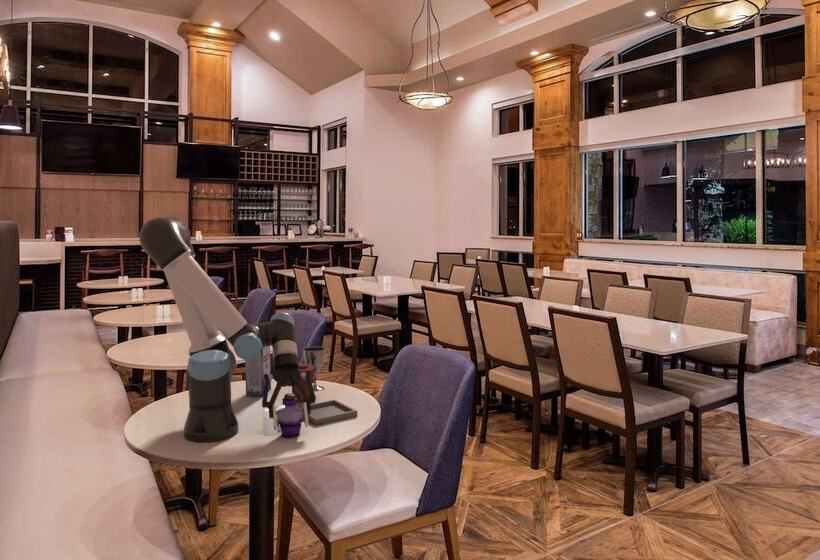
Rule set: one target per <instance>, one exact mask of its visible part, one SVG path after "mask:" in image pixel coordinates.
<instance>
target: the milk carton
mask: <svg viewBox="0 0 820 560" xmlns="http://www.w3.org/2000/svg"><path fill="white" fill-rule="evenodd" d="M244 366H245V367H244V372H245V375H244V376H245V396H246V398H247V396H250V397H249V398H252V397H253V398H263V393H264V386H265V383H264V375H265V374H268V375H271V374H272V372H271V368H272V367H271V366H272V365H271V346H265V347H262V348H261V351H260V352H259V354H258V355H257V356H256V357H255V358H253V359H250V360H244ZM269 390H270V391H271V390H272V381H271V382H270V383H269ZM269 390H268V393H269V392H270V391H269Z"/></svg>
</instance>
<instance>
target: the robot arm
mask: <svg viewBox="0 0 820 560" xmlns="http://www.w3.org/2000/svg"><path fill="white" fill-rule="evenodd" d="M138 236H139V237H138V238H139V244H140V246H141V248H142V249H143V250H144V252H145V253H146V254H147V255H148V256H149V258H150V259H151V260H152V261H154V264H155V266H156V268H158V269H160V270H162V271H163V273H164V276H165V278H166V280H167V283H168V285H169V288H170V290H171V291H170V292H171V293H172V296H173V299H174V301H175V305H176V307H177V310H178V312H179V316H180V318H181V320H182V323H183V327H184V329H185V331H186V334H187V336H188V339H189V342H190V346H189V349H188V350H187V351H188V354H189V358H188V360H187V366H186V367H187V368H186V369H187V378H188V381H187V382H188V383H187V384H188V400H189V401H188V402H189V405H188V406H189V410H188V413H187V417H186V419H185V420H186V421H185V422H184V427H183V437H184V438H185V439H186V440H188V441H189V442H197V443H207V442H208V443H210V442H217V441H222V440H225V439H229V438H230V437H233V436H235V435H236V434H237V433H238V432H239V421H238V419H237V415H236V413H235V411H234V408H233V406H232V383H231V382H232V379H233V375H234V374H235V371H236V367H237V359H236V356H237V357H238V359H242V360H243V361H245V360H250V359H253V358H255V357H256V356H257V355H258V354H259V352H260V351H261V348H262V347H265V346H270V347H271V349H272V359H273V361H272V366H273V373H271V375H268V374H265V375H264V383H265V386H264V393H263V397H262V401H261V407H262V408H267V409H268V417H269V419H272V420H273V430H274V431H277V429H278V427H277V421H278V419H277V415H276V411H277V408H276V407H277V405H276V401H277V398H278V396H279V393H280V391H281V390H282V388H286V387H292V386H293V387H294V388H295V389H296V391H297V392H298V394H299V395H300V397H301V399H302V400H303V402H302V403H303V405H302V406H303V409H304V412H305V413H304V418H303V422H304V428H308V427H309V421H308V415H310V414H311V407H310V404H315V403H316V401H317V399H316V398H317V397H316V394H315V391H314V390H313V387H312V386H313V383H312V384H311V381H310V372H309V371H307V372H306V373H305V372H301V371H300V370H299V364H300V363H299V357H298V355H299V354H298V347H297V334H296V327H295V326H296V325H295V319H294V317H293V316H292V315H291V314H289V313H287V312H279V313H277V314H273V315H272V316H271V317H270V320H269V321H267V322H261V323H251V324H249V322H247V320H246V319H245V318H244V317H243V315H242V314H241V313H240V312H239V311H238V310H237V309H236V307H235V306H234V305H233V303H232V302H231V301H230V300H229V299H228V298H227V296H226V295H225V294H224V293H223V292H222V290H220V288H219V286H217V285H216V284H215V282H214V281H213V280H212V279H211V278H210V276H209V275H208V274H207V273H206V271H205V269H203V268H202V267H201V265H200V264H199V263H198V262H197V261H196V260H195V258H196V253H195V250H194V247H193V245H192V242H191V240H192V237H191V231H190V229H189V228H188V227H187V225H186V224H185V223H184V222H183V221H181V220H180V219H177V218H175V217H171V216H170V217H169V216H167V217H159V216H158V217H154V218H151V219H150V220H149V219H148V220H147V221H146V222H145V223H144V224H143V225H142V227H141V228H140V231H139V235H138ZM219 332H220V333H221V334H222V335H221V334H219ZM229 344H230V345H231V346H232V348H233V351H234V352H233V351H232V350H231V348H230V347H229ZM235 355H236V356H235ZM300 377H302V378H303V380H305V384H306V387H307V390H308V393H309V397H310V398H309V397H308V396H307V394H306V393H305V391H304V389H303V388H302V386H301V385H300V383H299V381H298V379H299V378H300ZM272 380H273V381H275V382H276V385H275V388H274V390H273V392H272V395H271V396H270V399H269V401H268V396H269V392H268V390H269V383H270V382H271V383H272Z"/></svg>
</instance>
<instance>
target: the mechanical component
mask: <svg viewBox="0 0 820 560" xmlns="http://www.w3.org/2000/svg"><path fill="white" fill-rule="evenodd" d="M299 370H300V371H301V372H305V373H306V372H307V371H309V372H310V381H311V384H312V385H313V384H314V382H316V383H317V381H318V379H317V377H318V376H317V375H314V367H313V366H309V365H307V364H306V363H299ZM298 381H299V383H300V385H301V386H302V388H303V389H304V391H305V393H306V394H307V396H308V397H309V393H308V390H307V387H306V384H305V380H303V378H302V377H300V378H299V379H298ZM291 394H295V397H296V398H297V399H298V400H297V401H298V403H304V402H303V400H302V399H301V397H300V395H299V394H298V392H297V391H296V389H295V388H294V387H293V386H291ZM309 398H310V397H309Z"/></svg>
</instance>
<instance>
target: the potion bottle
mask: <svg viewBox="0 0 820 560" xmlns="http://www.w3.org/2000/svg"><path fill="white" fill-rule="evenodd" d="M281 400H282V402H281V403H282V405H283V406H284V407H283V408H280V409H276V418H277V429H278V428H279V429H280V433H281V434H280V435H281V438H285V439H293V438H297V437H299V436H301V434H300V433H301V428H302V423H303V422H304V413H305V412H304V409H302V408H297V407H298V406H297V407H296V405H297V404H298V400H297V398H296V397H295V394H292V393H286V394H284V397H283V398H282V399H281Z"/></svg>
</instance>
